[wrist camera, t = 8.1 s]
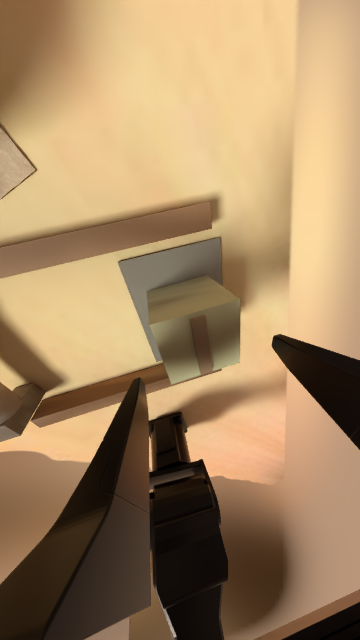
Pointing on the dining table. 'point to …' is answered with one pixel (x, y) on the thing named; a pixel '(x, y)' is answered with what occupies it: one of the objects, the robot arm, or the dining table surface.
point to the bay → (19, 405)
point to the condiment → (11, 165)
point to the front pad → (169, 274)
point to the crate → (195, 327)
